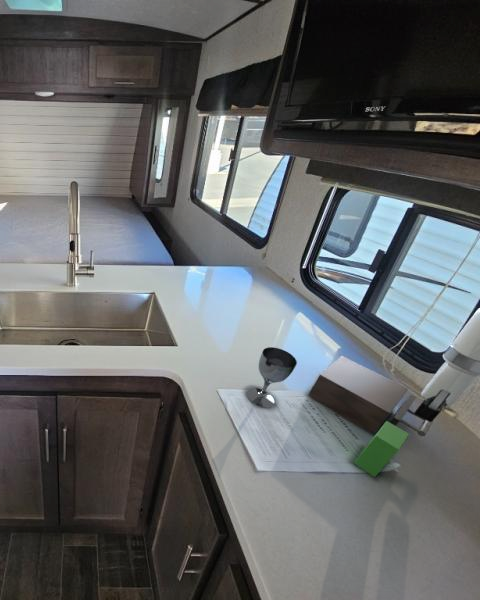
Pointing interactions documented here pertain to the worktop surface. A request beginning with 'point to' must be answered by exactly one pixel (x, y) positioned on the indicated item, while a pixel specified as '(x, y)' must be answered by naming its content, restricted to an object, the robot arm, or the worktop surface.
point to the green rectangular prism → (381, 448)
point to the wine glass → (271, 374)
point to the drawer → (405, 408)
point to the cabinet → (357, 393)
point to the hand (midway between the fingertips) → (423, 416)
